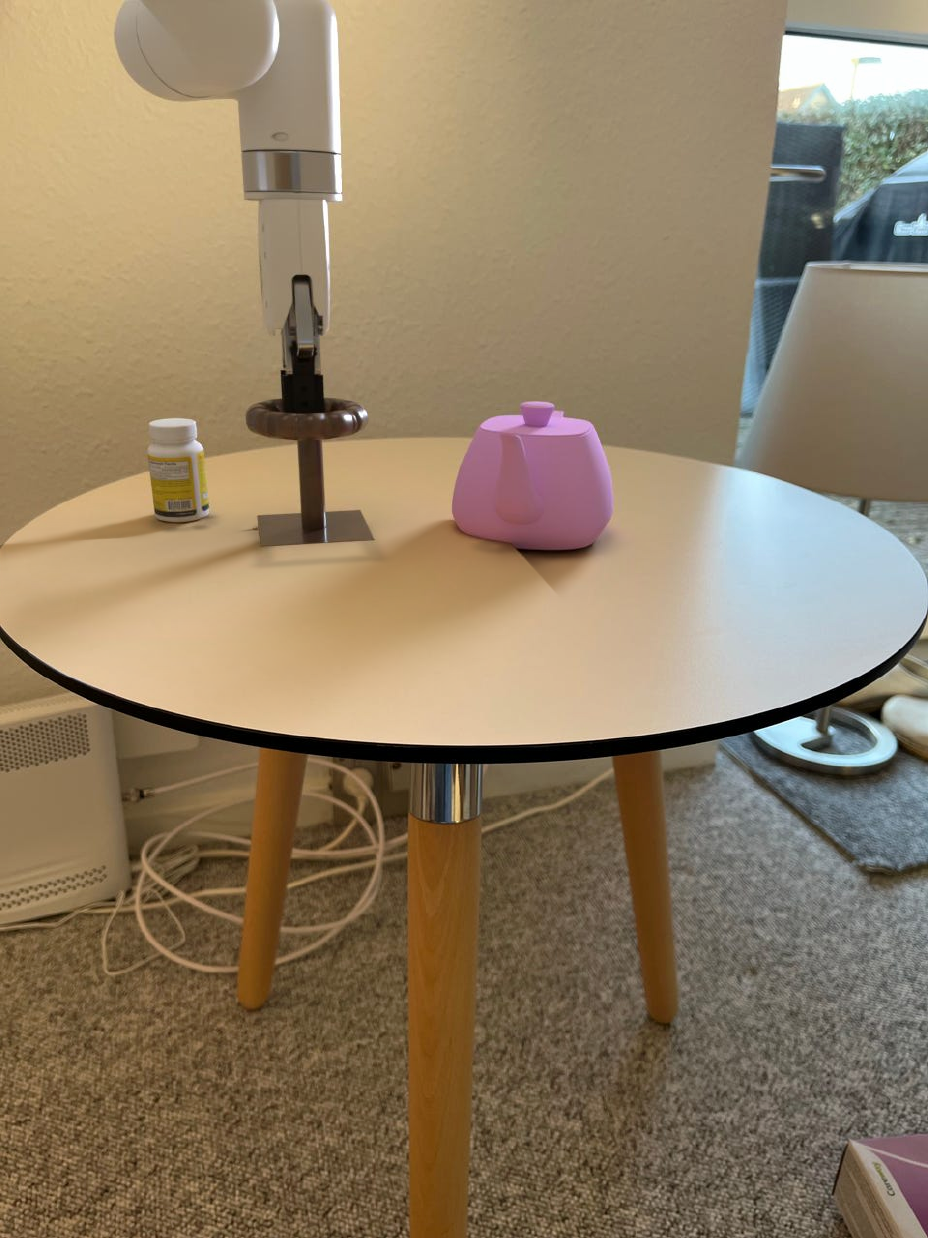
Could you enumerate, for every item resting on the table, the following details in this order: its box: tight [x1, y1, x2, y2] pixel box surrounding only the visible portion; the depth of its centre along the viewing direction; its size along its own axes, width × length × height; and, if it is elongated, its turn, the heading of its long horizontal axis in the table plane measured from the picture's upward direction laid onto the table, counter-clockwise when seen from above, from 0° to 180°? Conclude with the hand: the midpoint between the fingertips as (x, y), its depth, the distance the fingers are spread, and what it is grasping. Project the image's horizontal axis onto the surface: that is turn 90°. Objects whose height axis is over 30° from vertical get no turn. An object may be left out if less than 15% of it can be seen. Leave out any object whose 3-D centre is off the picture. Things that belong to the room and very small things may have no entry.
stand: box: [256, 440, 376, 548], centre depth 80 cm, size 9×9×10 cm
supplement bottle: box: [146, 417, 210, 523], centre depth 86 cm, size 5×5×8 cm
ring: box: [245, 396, 369, 441], centre depth 79 cm, size 10×10×2 cm
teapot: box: [451, 400, 614, 551], centre depth 81 cm, size 13×20×11 cm
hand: (303, 419), depth 82 cm, fingers closed on ring, 2 cm apart
